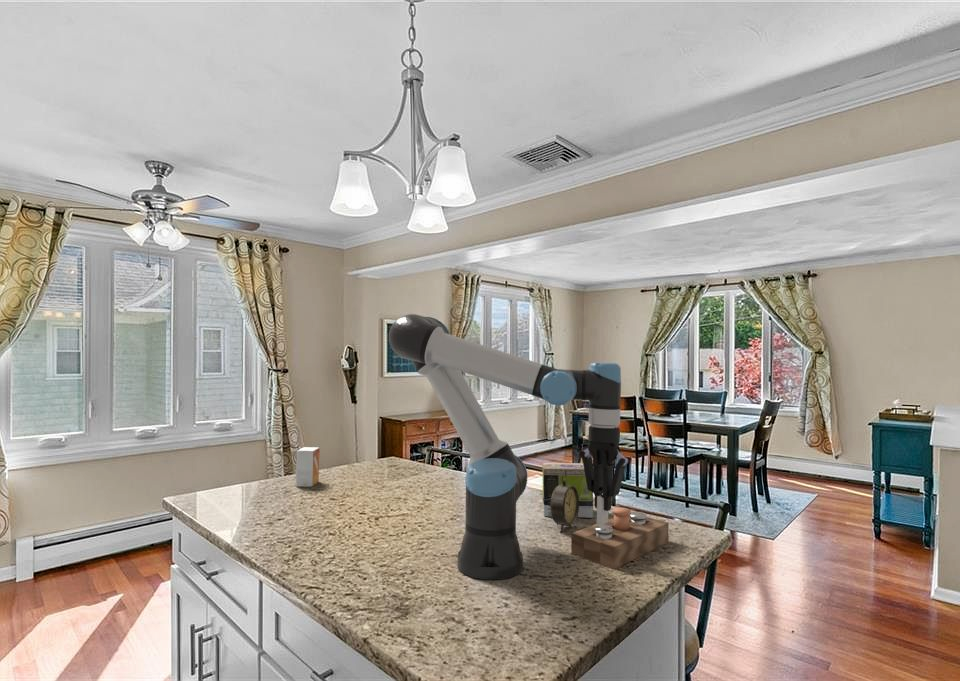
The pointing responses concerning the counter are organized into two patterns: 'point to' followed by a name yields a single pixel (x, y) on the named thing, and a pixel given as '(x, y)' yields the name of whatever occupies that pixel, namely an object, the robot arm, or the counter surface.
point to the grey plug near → (604, 531)
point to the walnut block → (619, 542)
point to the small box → (307, 466)
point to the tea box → (573, 478)
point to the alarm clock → (564, 504)
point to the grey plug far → (638, 518)
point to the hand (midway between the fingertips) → (602, 522)
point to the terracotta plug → (621, 519)
